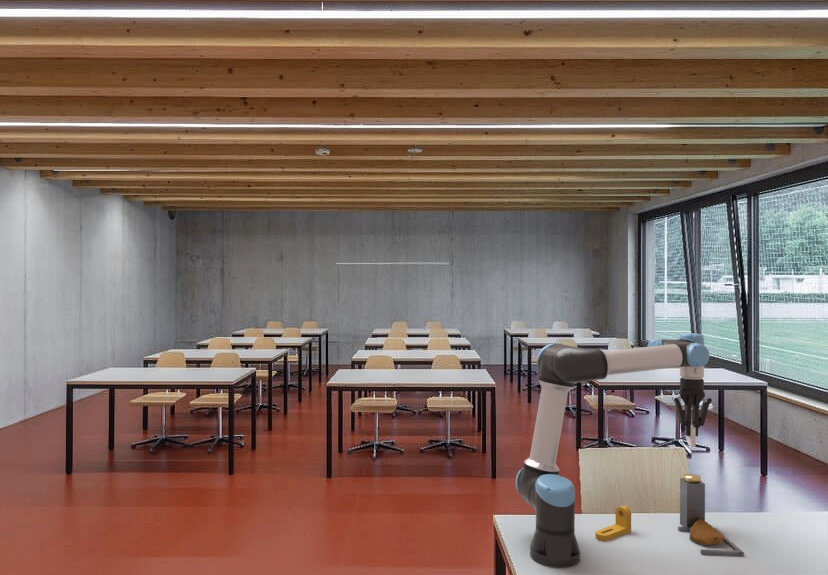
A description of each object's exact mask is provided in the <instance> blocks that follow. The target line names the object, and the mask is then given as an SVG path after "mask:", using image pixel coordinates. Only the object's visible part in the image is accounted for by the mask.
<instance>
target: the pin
mask: <svg viewBox="0 0 828 575" xmlns="http://www.w3.org/2000/svg"><path fill="white" fill-rule="evenodd" d="M683 478H684V480H686V481H688V482H689V483H697V482H701V481H702V480H701V478H702V477H701V476H700V475H699V474H695V473H694V474H693V473H685V474H684V475H683Z"/></svg>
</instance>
